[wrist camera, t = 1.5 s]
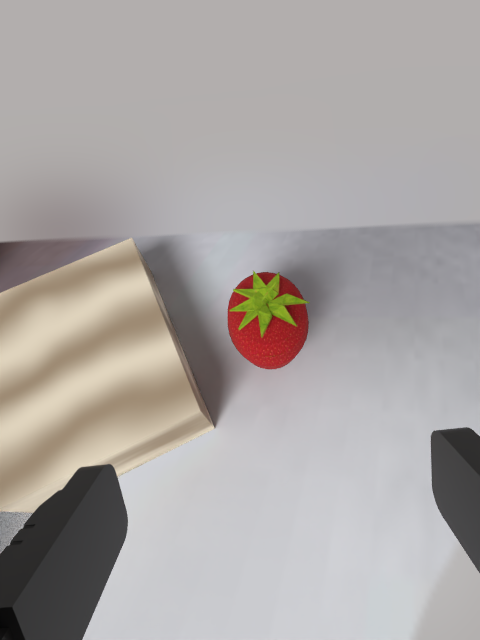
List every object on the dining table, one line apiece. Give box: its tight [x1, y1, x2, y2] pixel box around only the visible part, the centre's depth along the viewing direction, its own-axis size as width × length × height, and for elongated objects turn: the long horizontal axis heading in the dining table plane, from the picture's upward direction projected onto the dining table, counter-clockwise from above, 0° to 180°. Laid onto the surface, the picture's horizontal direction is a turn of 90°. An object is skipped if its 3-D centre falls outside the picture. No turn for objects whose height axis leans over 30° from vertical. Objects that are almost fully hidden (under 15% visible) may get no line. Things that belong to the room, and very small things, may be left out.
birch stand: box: [0, 238, 215, 513], centre depth 29 cm, size 18×14×5 cm
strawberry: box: [228, 271, 310, 369], centre depth 26 cm, size 6×8×10 cm
